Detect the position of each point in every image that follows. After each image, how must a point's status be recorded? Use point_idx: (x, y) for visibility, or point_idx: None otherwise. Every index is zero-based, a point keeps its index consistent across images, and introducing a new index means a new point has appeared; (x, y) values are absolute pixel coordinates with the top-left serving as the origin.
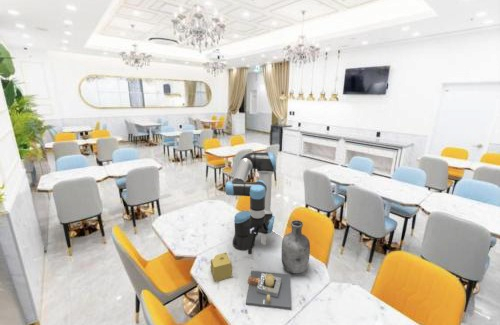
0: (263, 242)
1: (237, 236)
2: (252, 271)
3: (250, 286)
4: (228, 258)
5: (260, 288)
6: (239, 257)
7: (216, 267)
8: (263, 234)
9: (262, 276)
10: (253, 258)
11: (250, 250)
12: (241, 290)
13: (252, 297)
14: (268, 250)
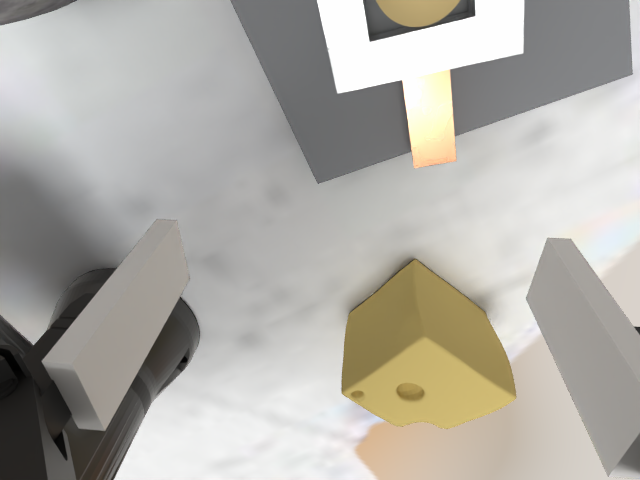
0: (169, 265)
1: (150, 397)
2: (321, 173)
3: (465, 118)
4: (390, 365)
5: (513, 18)
6: (245, 291)
7: (503, 385)
8: (91, 388)
9: (369, 72)
10: (552, 240)
11: None
12: (497, 158)
13: (569, 50)
14: (58, 171)
